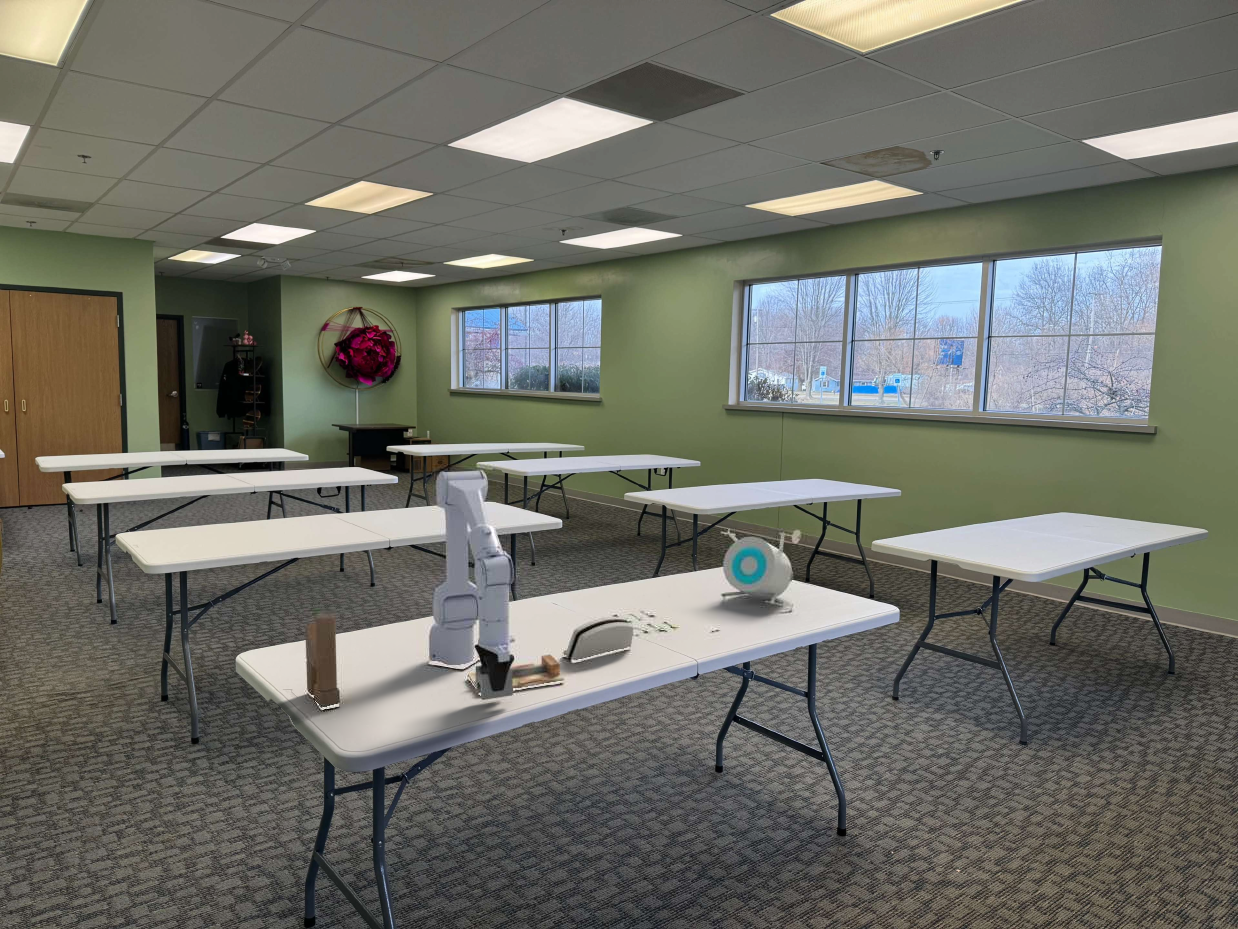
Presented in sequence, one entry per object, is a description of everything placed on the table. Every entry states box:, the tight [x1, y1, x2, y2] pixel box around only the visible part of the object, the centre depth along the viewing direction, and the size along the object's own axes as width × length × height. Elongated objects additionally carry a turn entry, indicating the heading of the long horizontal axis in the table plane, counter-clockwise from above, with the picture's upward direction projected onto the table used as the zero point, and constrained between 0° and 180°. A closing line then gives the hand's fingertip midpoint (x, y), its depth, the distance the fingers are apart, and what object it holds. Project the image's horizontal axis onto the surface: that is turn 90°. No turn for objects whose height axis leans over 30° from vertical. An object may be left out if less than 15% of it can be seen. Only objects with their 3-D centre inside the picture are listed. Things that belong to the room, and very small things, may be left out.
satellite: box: [720, 528, 802, 612], centre depth 233 cm, size 23×20×25 cm
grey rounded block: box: [562, 616, 634, 660], centre depth 185 cm, size 17×5×10 cm, turn 128°
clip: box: [475, 665, 514, 701], centre depth 156 cm, size 6×5×5 cm
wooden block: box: [304, 613, 341, 708], centre depth 156 cm, size 4×11×18 cm, turn 35°
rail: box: [467, 654, 565, 688], centre depth 168 cm, size 18×10×4 cm, turn 114°
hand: (494, 685), depth 156 cm, fingers closed on clip, 5 cm apart
